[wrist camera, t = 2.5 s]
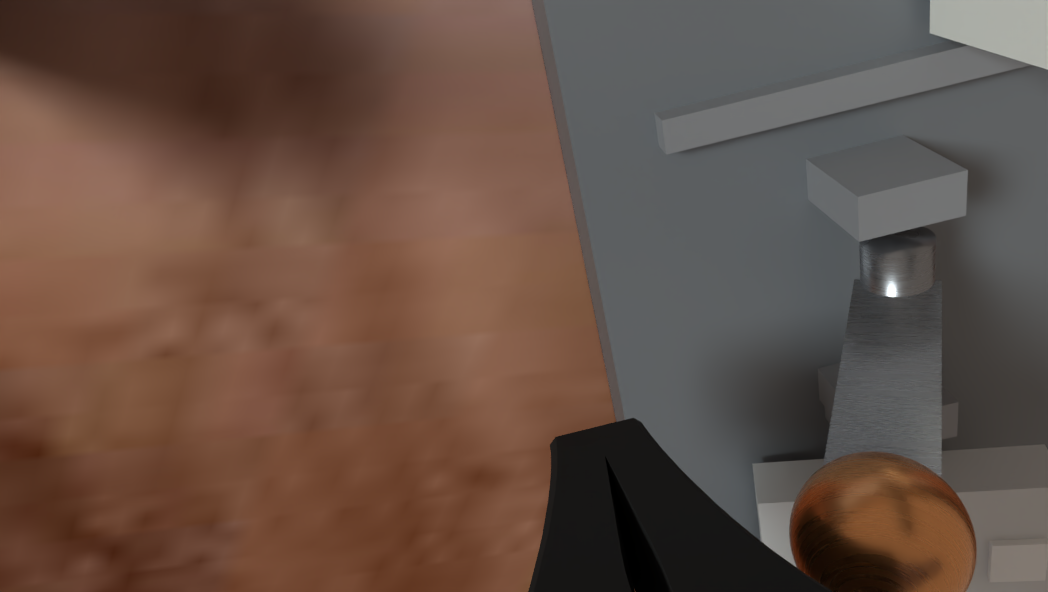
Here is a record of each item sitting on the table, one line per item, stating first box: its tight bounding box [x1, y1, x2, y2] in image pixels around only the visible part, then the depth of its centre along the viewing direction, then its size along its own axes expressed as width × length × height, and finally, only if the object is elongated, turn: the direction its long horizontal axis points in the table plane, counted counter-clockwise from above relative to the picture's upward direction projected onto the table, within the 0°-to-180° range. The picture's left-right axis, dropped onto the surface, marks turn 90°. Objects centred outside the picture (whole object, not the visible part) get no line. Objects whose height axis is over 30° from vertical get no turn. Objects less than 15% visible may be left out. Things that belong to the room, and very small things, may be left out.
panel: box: [532, 0, 1048, 541], centre depth 16 cm, size 17×10×4 cm, turn 12°
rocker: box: [752, 444, 1048, 592], centre depth 17 cm, size 4×6×1 cm, turn 102°
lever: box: [789, 226, 977, 592], centre depth 13 cm, size 3×2×7 cm
